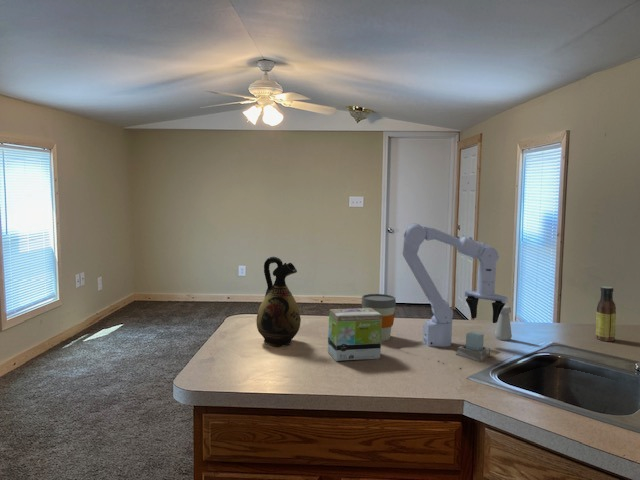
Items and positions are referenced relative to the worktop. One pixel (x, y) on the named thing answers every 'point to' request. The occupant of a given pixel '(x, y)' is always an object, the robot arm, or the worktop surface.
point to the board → (476, 353)
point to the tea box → (354, 334)
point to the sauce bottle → (606, 315)
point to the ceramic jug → (278, 307)
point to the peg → (474, 341)
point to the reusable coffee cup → (382, 310)
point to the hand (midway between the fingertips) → (484, 320)
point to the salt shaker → (504, 325)
